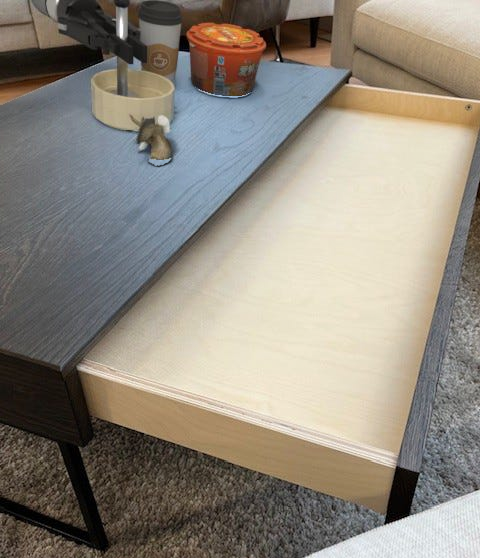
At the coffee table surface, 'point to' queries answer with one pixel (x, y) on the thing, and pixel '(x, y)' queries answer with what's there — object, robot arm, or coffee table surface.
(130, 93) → the ball-top lever stand
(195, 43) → the food container
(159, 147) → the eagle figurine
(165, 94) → the bowl
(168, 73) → the coffee cup
